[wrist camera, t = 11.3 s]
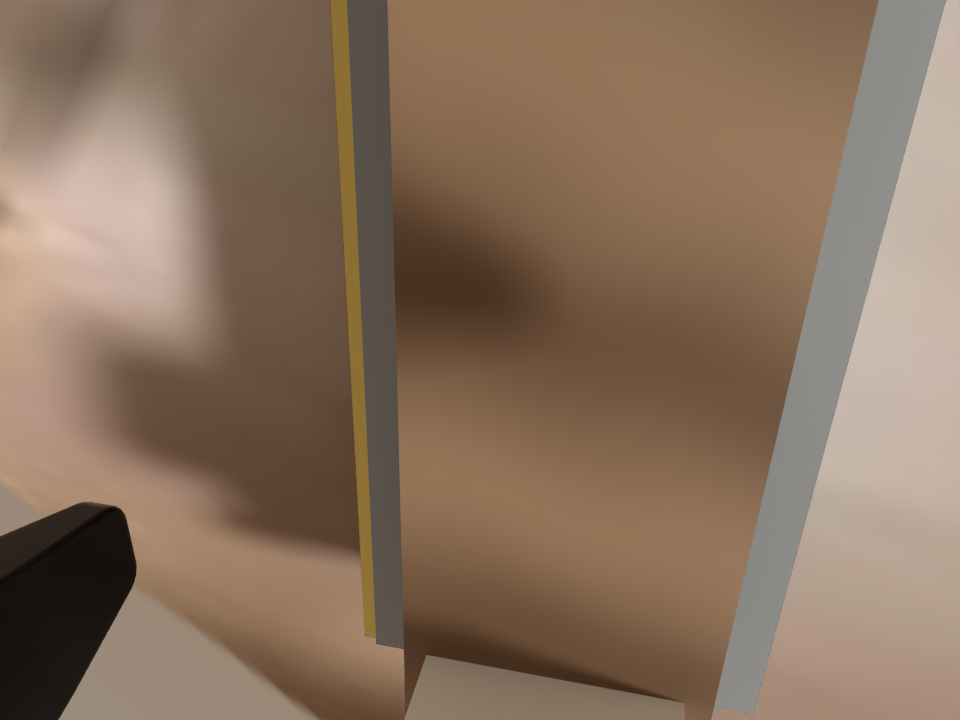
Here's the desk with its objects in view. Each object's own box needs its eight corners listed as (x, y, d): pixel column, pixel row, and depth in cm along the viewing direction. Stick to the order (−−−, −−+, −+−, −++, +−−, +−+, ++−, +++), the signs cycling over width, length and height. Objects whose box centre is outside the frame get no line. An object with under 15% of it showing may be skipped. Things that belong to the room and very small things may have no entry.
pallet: (671, 726, 20) (673, 921, 16) (449, 684, 21) (398, 857, 17) (933, -586, 10) (1144, -1021, 5) (463, -545, 11) (334, -885, 6)
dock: (742, 626, 22) (753, 714, 20) (395, 568, 24) (362, 641, 21) (989, -390, 12) (1077, -487, 10) (367, -361, 14) (301, -437, 12)
